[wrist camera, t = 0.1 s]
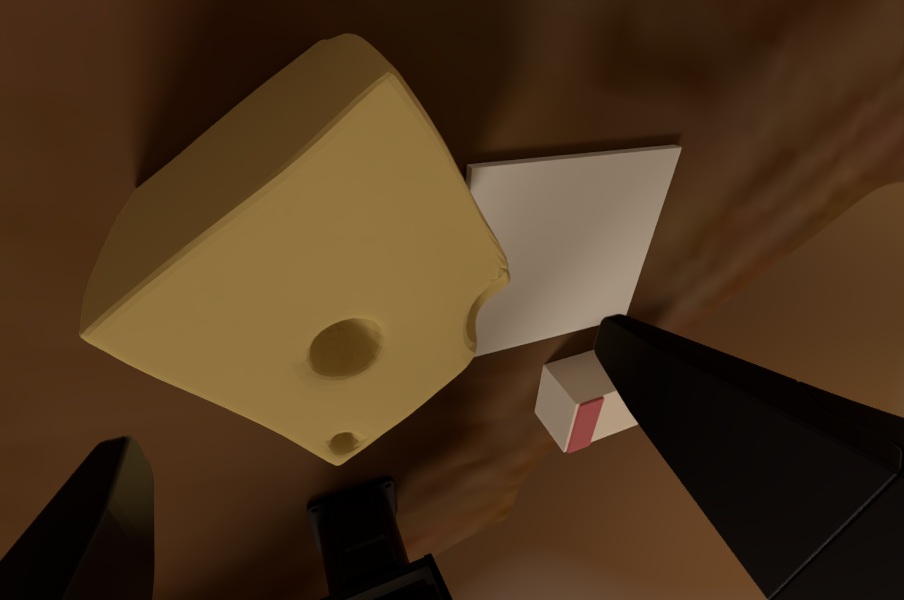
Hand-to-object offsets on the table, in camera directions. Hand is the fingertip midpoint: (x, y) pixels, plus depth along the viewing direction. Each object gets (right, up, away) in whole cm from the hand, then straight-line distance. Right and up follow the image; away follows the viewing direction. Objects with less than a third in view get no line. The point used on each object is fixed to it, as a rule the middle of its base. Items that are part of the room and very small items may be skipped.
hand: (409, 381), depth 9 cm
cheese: (-6, +6, +12) cm, 15 cm away
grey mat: (+8, +4, +20) cm, 22 cm away
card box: (+12, -5, +30) cm, 32 cm away
